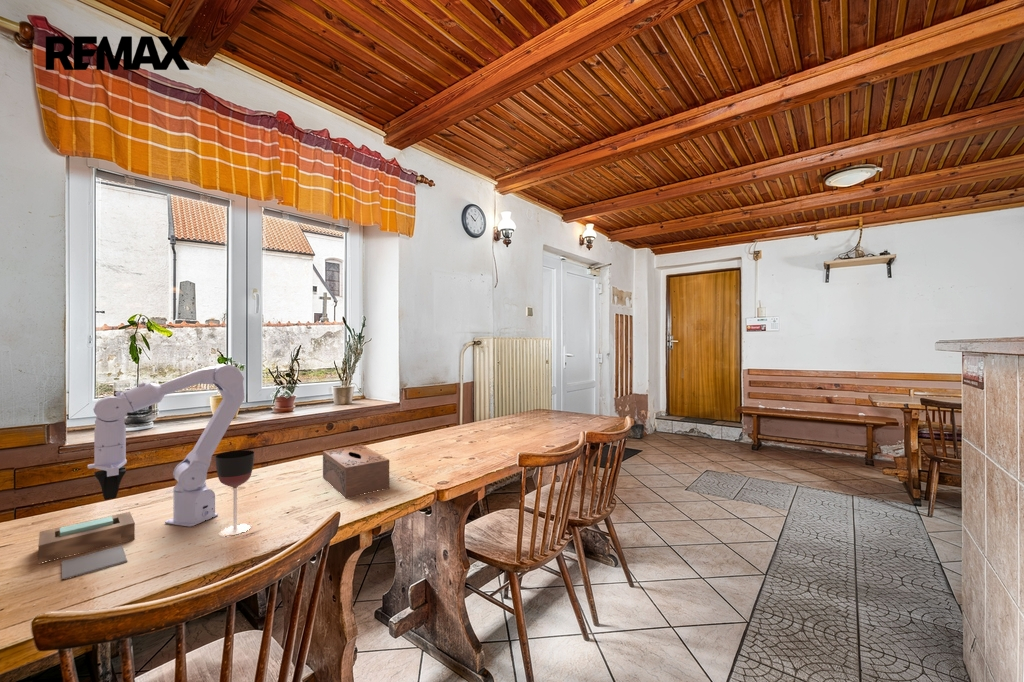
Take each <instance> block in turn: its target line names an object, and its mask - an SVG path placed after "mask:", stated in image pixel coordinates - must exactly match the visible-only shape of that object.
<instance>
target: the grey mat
mask: <svg viewBox="0 0 1024 682" xmlns="http://www.w3.org/2000/svg"><path fill="white" fill-rule="evenodd" d="M126 555H127V554H126V553H125V549H124V547H123V545H118V546H115V547H111V548H107V549H103V550H100V551H96V552H93V553H89V554H84V555H81V556H77V557H74V558H70V559H65V560H62V561H61V580H62V579H66V580H68V579H67V578H69V579H71V578H70V577H73V578H75V577H74V576H76V577H79V576H78V575H80V576H83V575H86V573H87V574H89V573H93V572H96V571H97V572H98V571H100V570H104V569H107V568H111V567H114V566H117V565H120V564H121V565H122V564H124V563H128V560H127V556H126ZM82 574H83V575H82Z"/></svg>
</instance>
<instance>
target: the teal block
mask: <svg viewBox="0 0 1024 682" xmlns="http://www.w3.org/2000/svg"><path fill="white" fill-rule="evenodd" d="M109 516H110V517H108V516H105V517H106V518H104V517H100V518H101V519H99V518H96V519H97V520H95V519H91V520H92V521H90V520H87V521H88V522H86V521H83V523H81V522H78V523H79V524H77V523H73V524H74V525H72V524H69V525H70V526H68V525H64V526H65V527H63V526H60V527H61V528H60V537H62V536H66V535H70V534H75V533H79V532H83V531H87V530H92V529H96V528H100V527H104V526H109V525H113V518H112V516H113V515H109Z"/></svg>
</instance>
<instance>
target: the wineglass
mask: <svg viewBox="0 0 1024 682" xmlns="http://www.w3.org/2000/svg"><path fill="white" fill-rule="evenodd" d="M214 458H215V467H216V468H215V469H216V474H217V478H218V481H219V482H220V483H221V484H222V485H225V486H227V487H230V488H232V489H233V492H232V493H233V496H232V497H233V500H232V502H233V505H232V506H233V508H232V510H233V516H232V517H233V521H232V522H233V524H232V525H233V526H232V525H229V526H230V527H228V526H227V527H228V528H226V527H224V528H225V529H224V530H223V531H221V533H222V534H223V535H224V534H226V535H229V534H235V533H236V534H238V533H241V532H245V533H246V531H247V530H248V531H250V530H251V529H252V528H251V527H250V525H251V524H250V525H247V524H248V523H239V524H240V525H237V524H238V487H239V486H241V485H244V484H245V483H246V482H247V481H249V480H250V478H251V476H252V473H253V468H254V463H255V461H254V460H255V451H253V450H247V449H246V450H245V449H242V450H241V449H240V450H239V449H238V450H231V451H230V450H229V451H225V452H222V453H218V454H216V455H215V457H214ZM250 528H251V529H250ZM249 529H250V530H249ZM248 531H247V532H248Z"/></svg>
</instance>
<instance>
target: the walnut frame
mask: <svg viewBox="0 0 1024 682" xmlns="http://www.w3.org/2000/svg"><path fill="white" fill-rule="evenodd" d="M110 516H112V518H113V525H109V526H104V527H100V528H96V529H92V530H87V531H83V532H79V533H75V534H70V535H66V536H62V537H60V528H61V527H65V526H66V525H64V526H59V527H55V528H50V529H46V530H42V531H39V535H38V554H37V555H38V561H37V563H38V565H40V564H39V563H42V562H45V561H49V560H54V559H57V558H61V557H65V556H69V555H73V556H75V555H74V554H77V555H79V554H78V553H81V554H85V553H87V552H91V551H95V550H99V549H103V547H104V548H106V546H108V547H110V546H115V545H119V544H122V542H123V543H126V542H130V540H131V541H133V540H134V539H136V537H135V535H136V534H135V533H136V529H135V527H136V524H135V520H134V518H133V515H132V513H131V511H128V512H122V513H118V514H114V515H109V516H104V517H103V518H106V517H110ZM101 518H102V517H100V518H95V519H94V520H97V519H101ZM92 520H93V519H91V520H87V521H85V522H88V521H92ZM83 522H84V521H83ZM83 522H77V523H76V524H79V523H83ZM74 524H75V523H73V524H68V525H67V526H70V525H74ZM114 544H115V545H114ZM84 552H85V553H84ZM69 557H70V556H69ZM65 558H66V557H65ZM61 559H62V558H61ZM54 561H55V560H54ZM42 564H43V563H42Z"/></svg>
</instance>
